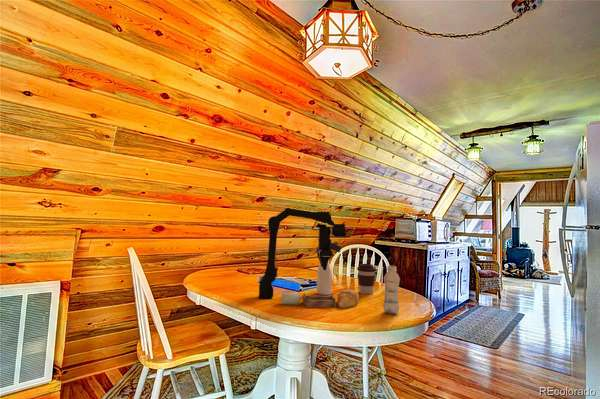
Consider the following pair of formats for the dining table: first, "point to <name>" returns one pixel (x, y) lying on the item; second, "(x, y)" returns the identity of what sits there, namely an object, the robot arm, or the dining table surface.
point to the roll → (290, 298)
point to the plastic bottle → (391, 291)
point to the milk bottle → (324, 280)
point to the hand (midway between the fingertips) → (323, 268)
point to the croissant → (348, 298)
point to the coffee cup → (366, 278)
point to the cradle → (318, 301)
